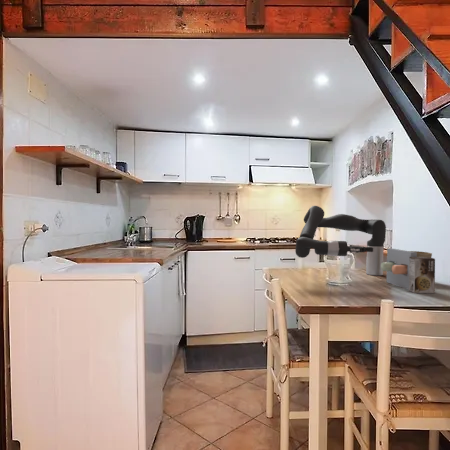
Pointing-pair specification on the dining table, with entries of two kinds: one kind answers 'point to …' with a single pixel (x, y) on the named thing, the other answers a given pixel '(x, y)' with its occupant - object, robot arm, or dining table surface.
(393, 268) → the terracotta button
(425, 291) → the coffee box
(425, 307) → the dining table surface
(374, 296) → the dining table surface
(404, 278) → the button panel
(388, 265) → the sage-green button
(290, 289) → the dining table surface
